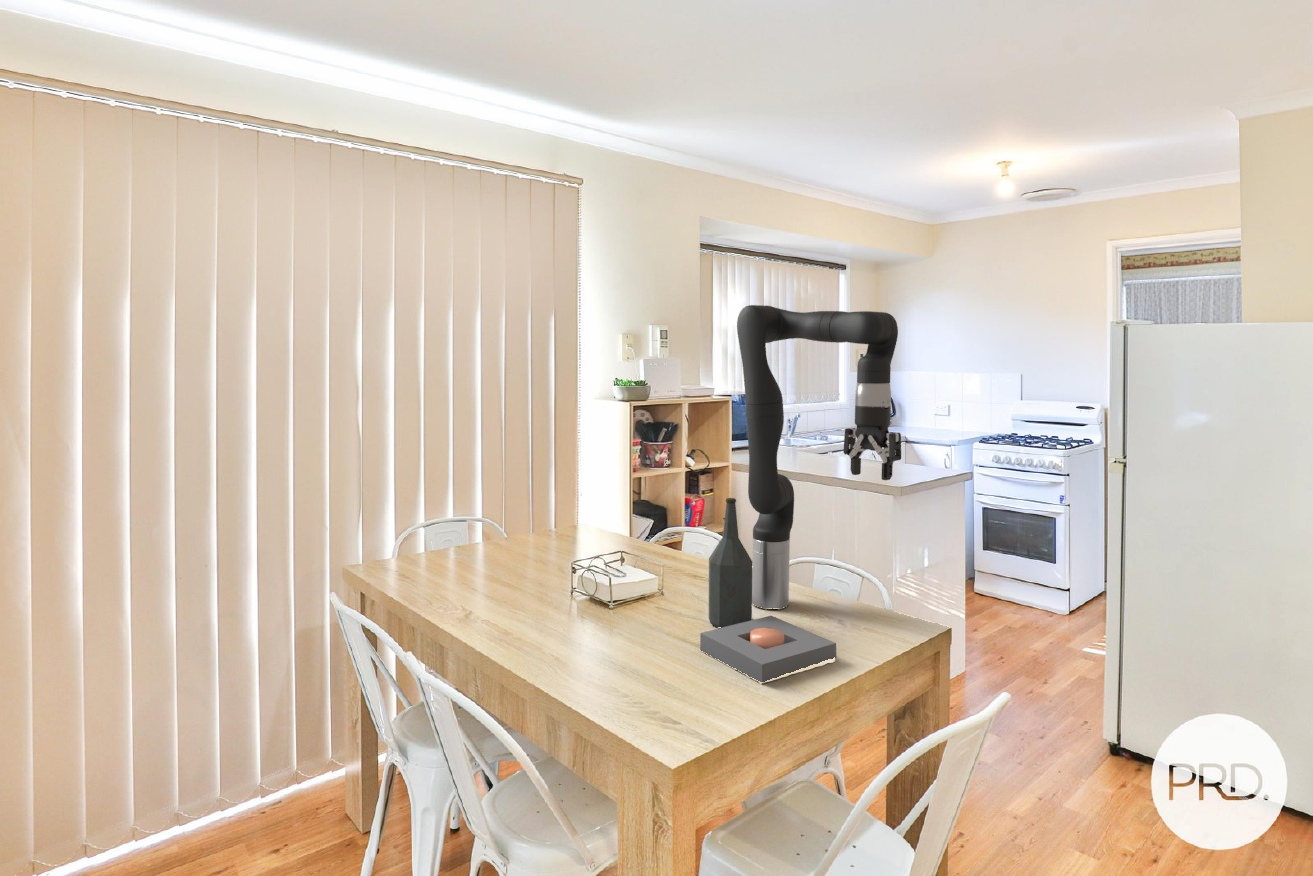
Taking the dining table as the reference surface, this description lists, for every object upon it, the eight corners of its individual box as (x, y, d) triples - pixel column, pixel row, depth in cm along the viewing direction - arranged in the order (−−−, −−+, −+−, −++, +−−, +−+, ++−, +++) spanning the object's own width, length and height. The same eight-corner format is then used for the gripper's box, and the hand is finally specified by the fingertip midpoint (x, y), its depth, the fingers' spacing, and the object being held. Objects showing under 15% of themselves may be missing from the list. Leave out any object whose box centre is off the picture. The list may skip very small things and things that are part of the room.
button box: (700, 651, 162) (700, 633, 161) (771, 632, 173) (771, 615, 172) (761, 684, 145) (762, 664, 145) (835, 661, 156) (836, 643, 156)
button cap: (743, 650, 160) (743, 632, 159) (768, 643, 164) (768, 625, 163) (765, 661, 154) (765, 642, 154) (790, 654, 158) (791, 635, 157)
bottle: (754, 618, 182) (756, 495, 179) (748, 632, 173) (749, 503, 170) (712, 614, 185) (713, 493, 182) (704, 628, 176) (704, 501, 172)
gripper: (836, 403, 169) (834, 474, 171) (887, 406, 158) (884, 483, 159) (859, 401, 173) (857, 471, 175) (910, 405, 162) (908, 480, 163)
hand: (870, 477), depth 167 cm, fingers open, 8 cm apart
